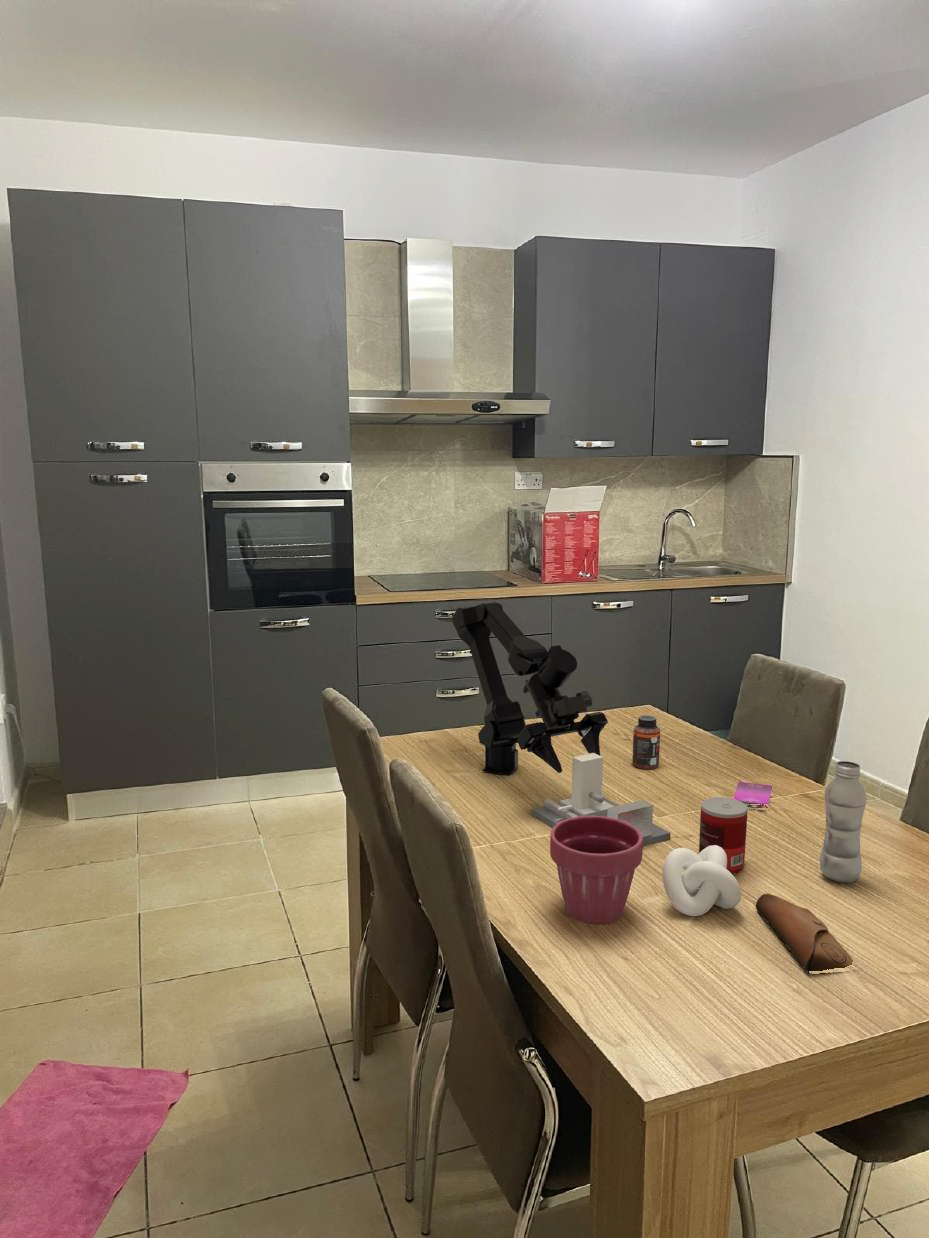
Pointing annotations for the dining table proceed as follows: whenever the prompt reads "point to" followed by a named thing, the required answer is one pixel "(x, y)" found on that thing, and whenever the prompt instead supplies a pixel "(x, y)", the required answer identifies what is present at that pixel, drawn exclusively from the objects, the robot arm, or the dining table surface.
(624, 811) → the grey block with recess
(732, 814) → the canned food
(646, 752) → the supplement bottle
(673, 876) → the white knot sculpture
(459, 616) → the robot arm
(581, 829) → the plant pot
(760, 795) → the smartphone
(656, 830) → the track
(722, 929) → the dining table surface
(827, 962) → the sunglasses case
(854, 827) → the plastic bottle
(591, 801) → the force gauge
